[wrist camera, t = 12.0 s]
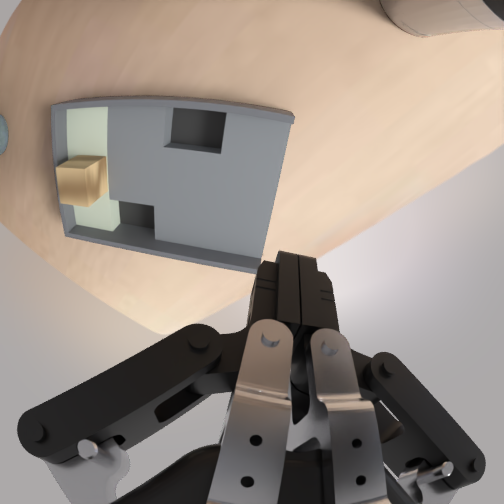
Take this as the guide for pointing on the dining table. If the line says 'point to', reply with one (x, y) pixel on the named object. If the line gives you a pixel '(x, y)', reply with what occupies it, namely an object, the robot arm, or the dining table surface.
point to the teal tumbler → (3, 134)
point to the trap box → (176, 175)
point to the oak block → (82, 180)
